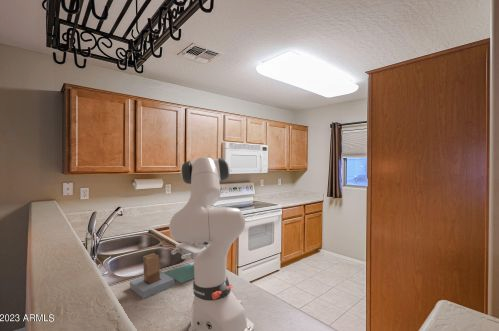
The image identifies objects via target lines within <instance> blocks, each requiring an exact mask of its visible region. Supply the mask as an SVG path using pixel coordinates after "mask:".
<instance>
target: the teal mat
mask: <svg viewBox="0 0 499 331" xmlns="http://www.w3.org/2000/svg"><path fill="white" fill-rule="evenodd" d="M164 273H165V274H166V275H168V276H170V277H172V278H173V279H174V281H176V282H178V283H180V284H184V283H185V282H189V281H191V280H192V279H194V265H192V264H190V263H187V264H184V265H181V266H179V267H177V268H174V269H172V270H169V271H166V272H164Z"/></svg>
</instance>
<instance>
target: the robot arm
mask: <svg viewBox="0 0 499 331" xmlns="http://www.w3.org/2000/svg"><path fill="white" fill-rule="evenodd" d="M230 172H231V167H230V164H229V163H228V160H227V159H225V158H222V157H221V158H220V157H219V158H211V157H209V156H202V157H198V158H197V159H195V160H192V161H191V160H189V161H185V162H184V163H183V164H182V166H181V168H180V176H181V179H182V181H183V182H184V183H185V184H187V185H190V197H189V199H188V201H187V203H186V204H185V205H184V207H182V208H181V209H180V210H179V211H176V213H174V214H173V216H172V217H171V219H170V220H169V221H170V222H169V225H168V229H169V230H168V231H169V234H170V236H171V238H172V239H173V240H174V242H177V244H175V249H173V250H171V252H170V254H171V255H172V256H174V255H176V254H177V253H179V254H181V256H180V257H181V259H182V260H186V259H193V266H194V278H193V279H194V280H193V282H192V283H193V284H192V289H193V295H194V296H193V301H192V303H191V311H190V312H191V314H190V316H191V317H190V326H189V327H188V331H254V330H253V329H255V324H254V323H253V322H252V321H251V320H250V319H249V318H248V317H247V314H246V309H245V307H244V306H243V301H242V300H241V299H238V298H237V297H236V296H235V294H234V292H232V288H233V284H232V283H231V284H230V282H229V279H228V276H227V262H228V261H227V259H228V253H229V251H230V248H231V246H232V244H234V241H235V240H236V239H237V238H238V237H240V236H241V235H242V234H243V231H244V230H245V228H246V227H245V226H246V219H245V216H244V214H243V212H242V211H241V209H239V208H237V207H231V206H230V207H228V206H221V207H211V206H213V205H215V204H216V203H217V202H218V201H219V199H220V197H221V185H220V184H221V183H220V181H221V182H222V181H225V180H227V179H228V178H229V176H230ZM210 207H211V208H210Z"/></svg>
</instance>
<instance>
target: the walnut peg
mask: <svg viewBox="0 0 499 331" xmlns="http://www.w3.org/2000/svg"><path fill="white" fill-rule="evenodd" d="M142 263H143V266H142V267H143V276H144V282H145V283H146V284H148V285H149V284H152V283H154V282H157V281H159V280H160V271H161V270H160V256H159V255H158V254H156V253H154V252H153V253H150V254H147V255H144V256H142Z"/></svg>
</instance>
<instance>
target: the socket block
mask: <svg viewBox="0 0 499 331" xmlns="http://www.w3.org/2000/svg"><path fill="white" fill-rule="evenodd" d="M159 271H160V280H159V281H157V282H154V283H152V284H149V285H148V284H146V283H145V282H144V275H143V276H141V277H138V278H135V279H132V280H130V281H129V289H131V291H133V292H134V293H135V294H137V295H138V296H139V297H140V298H142V299H143V300H144V299H146V298H149V297H150V296H154V295H155V294H158V293H160V292H162V291H165V290H167V289H170V288H171V287H174V286H175V280H174V279H173V278H172V277H170V276H168V275H166V274H165V273H166V272H162V270H159Z"/></svg>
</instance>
